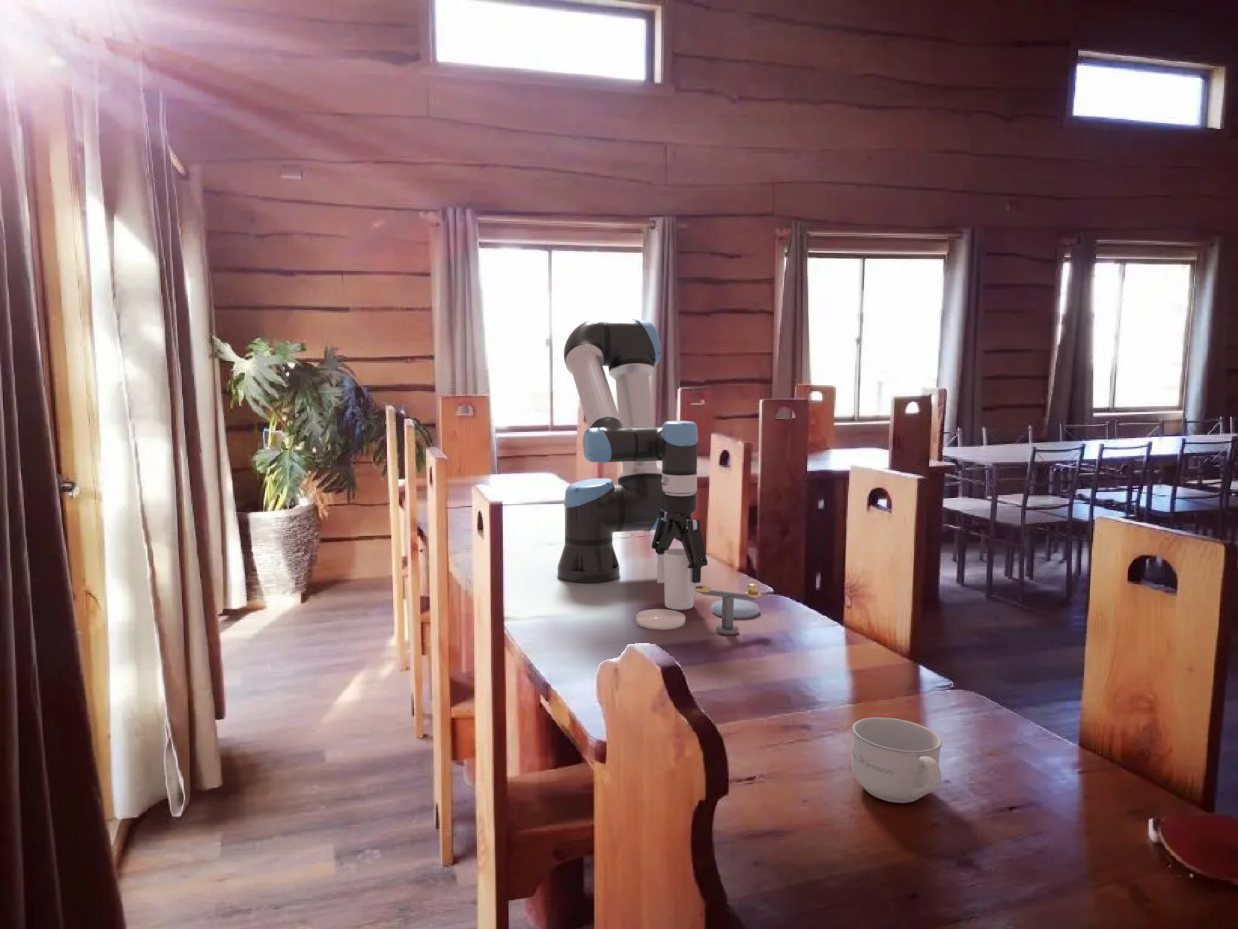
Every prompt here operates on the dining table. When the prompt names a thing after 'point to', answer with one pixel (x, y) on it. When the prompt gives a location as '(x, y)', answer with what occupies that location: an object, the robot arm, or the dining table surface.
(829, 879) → the dining table surface
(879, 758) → the teacup
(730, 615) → the balance
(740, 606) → the dish blue
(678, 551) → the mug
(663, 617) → the dish cream
